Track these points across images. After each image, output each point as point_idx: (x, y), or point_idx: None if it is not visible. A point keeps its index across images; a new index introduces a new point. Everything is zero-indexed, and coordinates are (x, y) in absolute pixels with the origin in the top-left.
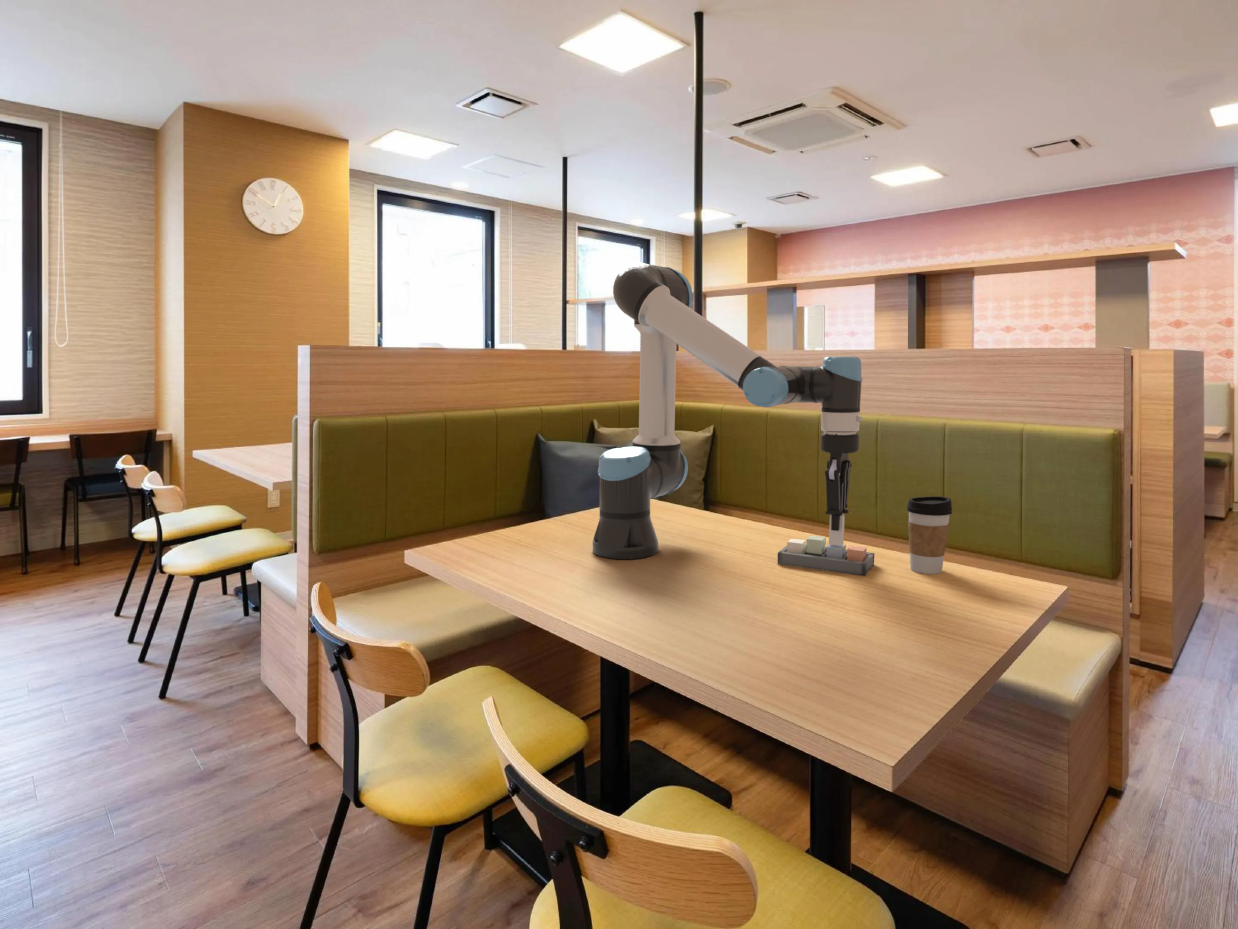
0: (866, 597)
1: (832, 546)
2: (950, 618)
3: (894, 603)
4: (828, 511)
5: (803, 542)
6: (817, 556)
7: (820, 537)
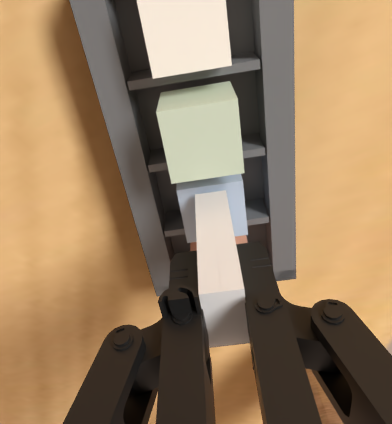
0: (5, 317)
1: (194, 206)
2: (28, 420)
3: (20, 358)
4: (106, 345)
5: (183, 73)
6: (134, 155)
7: (222, 156)
